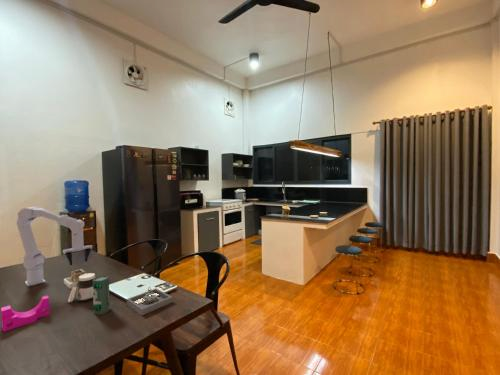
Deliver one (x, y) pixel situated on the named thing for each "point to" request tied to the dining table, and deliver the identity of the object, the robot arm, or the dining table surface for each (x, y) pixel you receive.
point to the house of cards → (149, 297)
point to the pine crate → (76, 275)
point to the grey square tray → (151, 306)
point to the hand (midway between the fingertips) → (78, 262)
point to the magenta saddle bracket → (23, 315)
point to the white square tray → (70, 282)
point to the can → (101, 295)
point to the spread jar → (83, 288)
